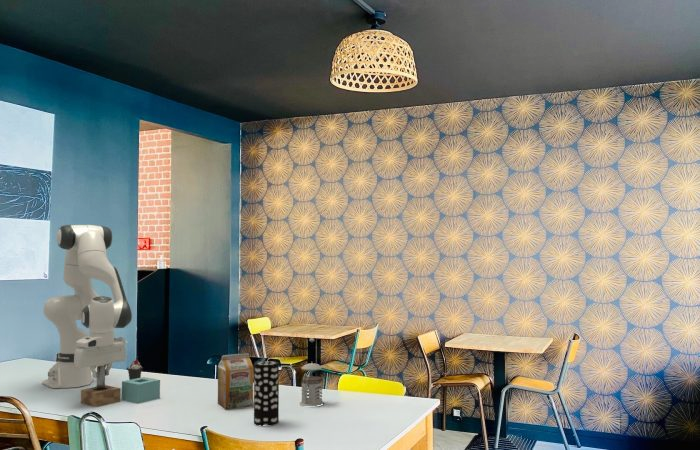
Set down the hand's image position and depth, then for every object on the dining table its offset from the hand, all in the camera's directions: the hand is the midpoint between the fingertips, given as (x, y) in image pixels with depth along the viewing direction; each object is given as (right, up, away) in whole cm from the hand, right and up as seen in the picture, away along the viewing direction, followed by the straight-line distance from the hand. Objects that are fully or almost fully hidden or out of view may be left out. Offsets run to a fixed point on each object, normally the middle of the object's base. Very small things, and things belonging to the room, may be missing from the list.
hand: (100, 376), depth 231 cm
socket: (0, -11, -1) cm, 11 cm away
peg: (0, -8, 0) cm, 8 cm away
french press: (+80, -11, 0) cm, 81 cm away
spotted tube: (+66, -10, -25) cm, 71 cm away
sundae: (+6, -12, +20) cm, 24 cm away
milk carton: (+51, -11, -1) cm, 52 cm away
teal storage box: (+14, -11, +5) cm, 18 cm away
